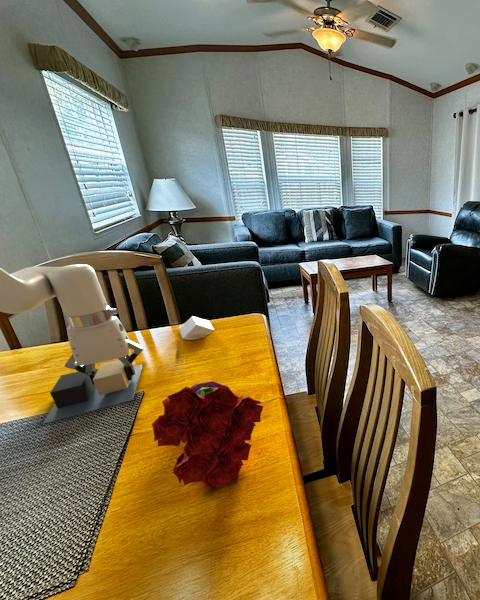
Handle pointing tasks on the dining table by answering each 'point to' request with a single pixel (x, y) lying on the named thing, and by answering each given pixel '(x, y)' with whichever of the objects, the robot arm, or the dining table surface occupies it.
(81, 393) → the back pad left
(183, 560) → the dining table surface
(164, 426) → the bouquet
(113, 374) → the loose pad
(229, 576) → the dining table surface
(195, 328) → the wedge on round base
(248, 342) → the dining table surface
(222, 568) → the dining table surface
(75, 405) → the board
